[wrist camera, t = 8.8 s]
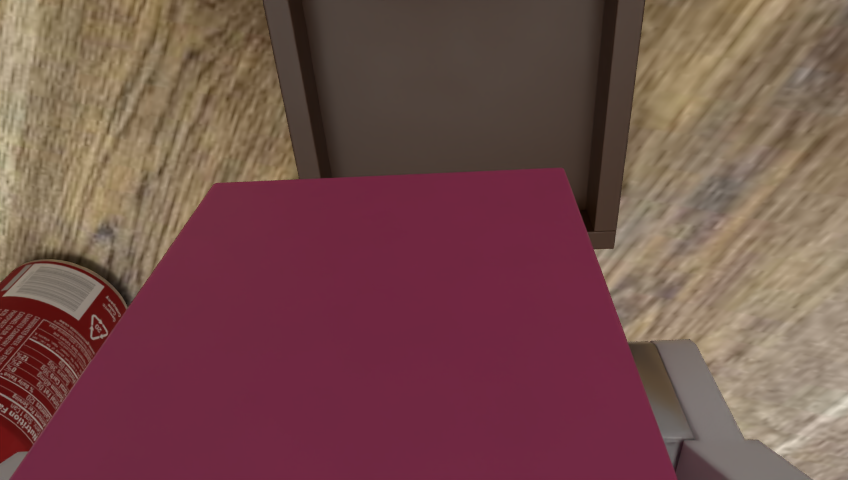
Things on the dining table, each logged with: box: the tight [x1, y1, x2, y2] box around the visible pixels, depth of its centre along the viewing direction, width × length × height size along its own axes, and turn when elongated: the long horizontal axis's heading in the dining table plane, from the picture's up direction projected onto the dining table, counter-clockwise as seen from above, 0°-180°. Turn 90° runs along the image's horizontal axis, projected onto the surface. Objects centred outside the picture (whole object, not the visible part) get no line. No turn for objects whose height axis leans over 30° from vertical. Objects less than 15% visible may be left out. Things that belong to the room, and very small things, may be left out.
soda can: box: [0, 259, 128, 463], centre depth 29 cm, size 7×7×12 cm
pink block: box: [9, 168, 678, 480], centre depth 8 cm, size 5×5×5 cm
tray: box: [263, 0, 645, 249], centre depth 24 cm, size 20×14×3 cm
